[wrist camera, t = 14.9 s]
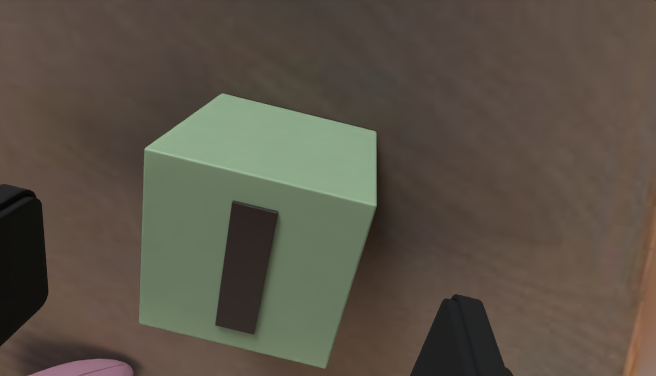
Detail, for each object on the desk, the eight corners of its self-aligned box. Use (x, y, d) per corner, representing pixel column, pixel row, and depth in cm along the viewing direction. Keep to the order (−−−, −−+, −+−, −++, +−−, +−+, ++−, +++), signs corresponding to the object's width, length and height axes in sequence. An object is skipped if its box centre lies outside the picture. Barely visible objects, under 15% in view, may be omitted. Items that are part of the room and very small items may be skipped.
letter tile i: (221, 92, 13) (140, 149, 9) (376, 131, 13) (377, 207, 9) (206, 225, 16) (136, 327, 11) (340, 258, 16) (325, 373, 11)
